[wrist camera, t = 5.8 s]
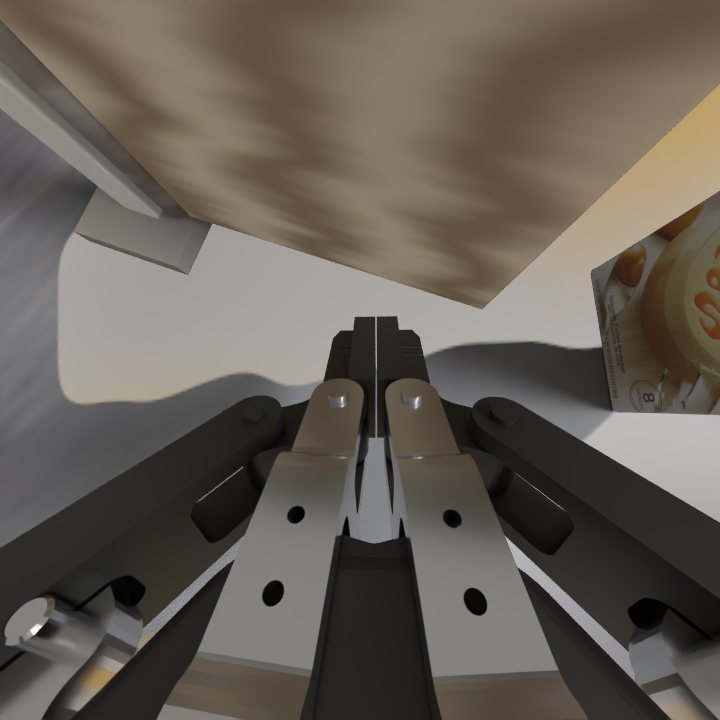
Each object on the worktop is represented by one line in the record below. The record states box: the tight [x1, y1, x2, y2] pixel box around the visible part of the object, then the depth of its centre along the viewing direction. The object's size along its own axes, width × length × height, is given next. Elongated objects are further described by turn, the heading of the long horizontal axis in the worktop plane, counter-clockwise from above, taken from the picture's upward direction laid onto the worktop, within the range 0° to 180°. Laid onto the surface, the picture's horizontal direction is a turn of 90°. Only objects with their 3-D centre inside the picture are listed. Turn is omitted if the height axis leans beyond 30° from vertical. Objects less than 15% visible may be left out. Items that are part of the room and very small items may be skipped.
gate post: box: [0, 60, 212, 275], centre depth 13 cm, size 8×8×18 cm
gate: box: [0, 0, 720, 309], centre depth 11 cm, size 21×2×15 cm, turn 70°
